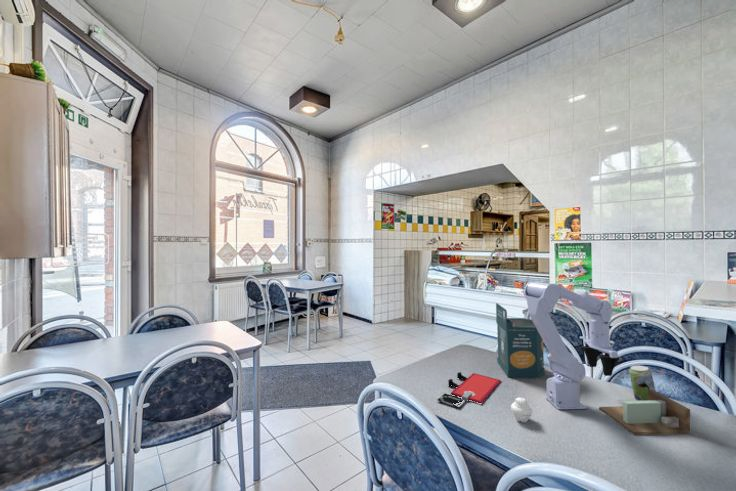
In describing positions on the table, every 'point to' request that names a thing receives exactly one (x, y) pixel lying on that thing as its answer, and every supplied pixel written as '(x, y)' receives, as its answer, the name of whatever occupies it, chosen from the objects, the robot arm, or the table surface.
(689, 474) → the table surface
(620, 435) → the table surface
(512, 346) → the donation box
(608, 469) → the table surface
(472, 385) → the red board with handle
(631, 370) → the beverage can
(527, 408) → the muffin
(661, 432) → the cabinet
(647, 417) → the green piece
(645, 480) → the table surface
